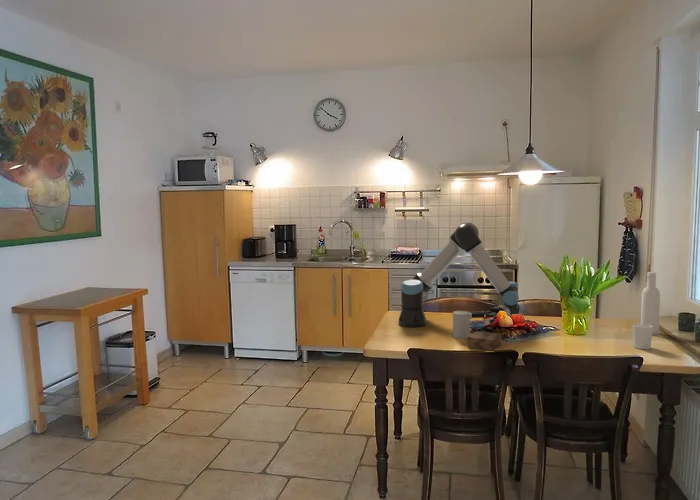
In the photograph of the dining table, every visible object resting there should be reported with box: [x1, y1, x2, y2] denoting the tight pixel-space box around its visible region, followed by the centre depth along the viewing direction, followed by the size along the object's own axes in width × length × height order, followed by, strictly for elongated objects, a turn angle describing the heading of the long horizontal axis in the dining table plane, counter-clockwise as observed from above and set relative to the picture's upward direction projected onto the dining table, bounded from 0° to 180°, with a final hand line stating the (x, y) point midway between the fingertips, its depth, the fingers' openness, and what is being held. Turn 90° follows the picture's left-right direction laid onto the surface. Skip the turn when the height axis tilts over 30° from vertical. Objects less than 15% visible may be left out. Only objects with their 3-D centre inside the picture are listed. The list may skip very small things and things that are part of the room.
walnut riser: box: [467, 330, 502, 351], centre depth 239 cm, size 12×12×5 cm
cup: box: [452, 310, 471, 340], centre depth 256 cm, size 8×8×12 cm
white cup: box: [632, 322, 653, 350], centre depth 232 cm, size 8×8×10 cm
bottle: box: [640, 271, 661, 336], centre depth 255 cm, size 8×8×30 cm
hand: (473, 320), depth 262 cm, fingers open, 13 cm apart
